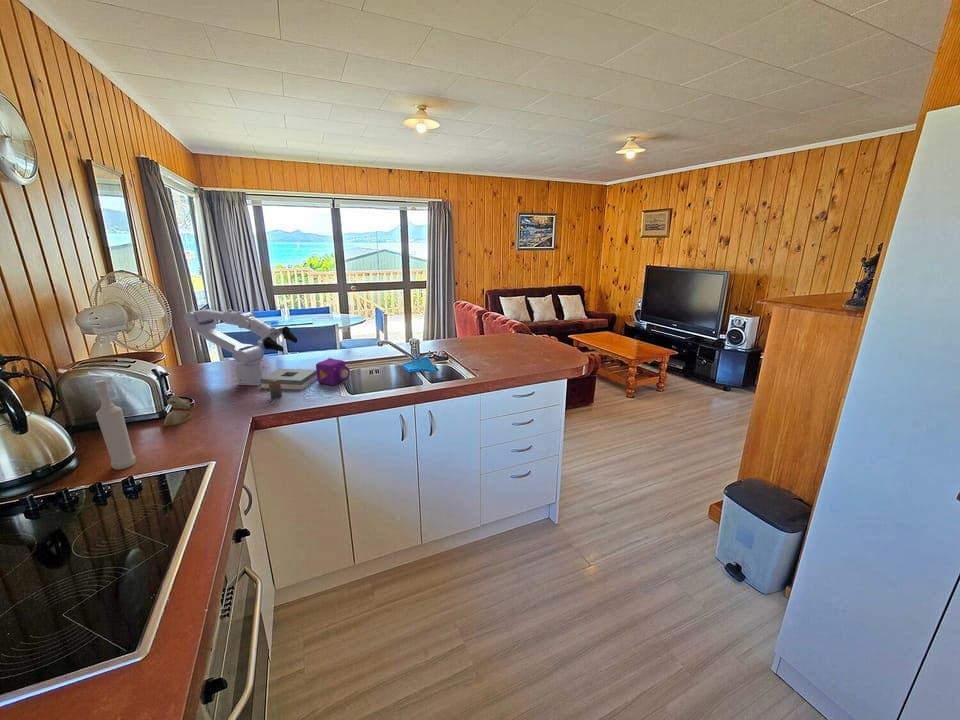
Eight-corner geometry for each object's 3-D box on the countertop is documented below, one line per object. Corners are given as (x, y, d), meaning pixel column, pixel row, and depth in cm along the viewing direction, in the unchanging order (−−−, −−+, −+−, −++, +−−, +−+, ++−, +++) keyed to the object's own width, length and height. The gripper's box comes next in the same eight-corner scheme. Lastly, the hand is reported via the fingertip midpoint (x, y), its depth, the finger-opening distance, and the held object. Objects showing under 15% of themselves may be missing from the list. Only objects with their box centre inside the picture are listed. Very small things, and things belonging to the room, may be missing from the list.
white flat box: (261, 387, 168) (260, 379, 167) (280, 376, 181) (278, 368, 180) (302, 389, 166) (301, 380, 165) (318, 378, 180) (317, 369, 179)
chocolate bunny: (192, 421, 137) (186, 395, 134) (163, 427, 133) (156, 399, 130) (193, 416, 141) (187, 389, 138) (165, 421, 137) (159, 394, 134)
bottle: (122, 460, 113) (97, 378, 106) (141, 459, 114) (118, 377, 106) (107, 470, 108) (80, 384, 101) (127, 469, 109) (102, 384, 101)
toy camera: (343, 387, 169) (341, 365, 166) (314, 385, 172) (311, 363, 169) (355, 379, 179) (353, 358, 176) (328, 377, 182) (326, 356, 179)
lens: (268, 398, 157) (265, 382, 154) (274, 394, 161) (271, 378, 158) (278, 399, 156) (275, 382, 154) (284, 395, 160) (282, 379, 158)
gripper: (247, 330, 156) (275, 346, 155) (276, 315, 168) (302, 329, 166) (249, 343, 161) (276, 359, 159) (276, 327, 172) (302, 342, 170)
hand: (289, 345), depth 163 cm, fingers open, 7 cm apart
